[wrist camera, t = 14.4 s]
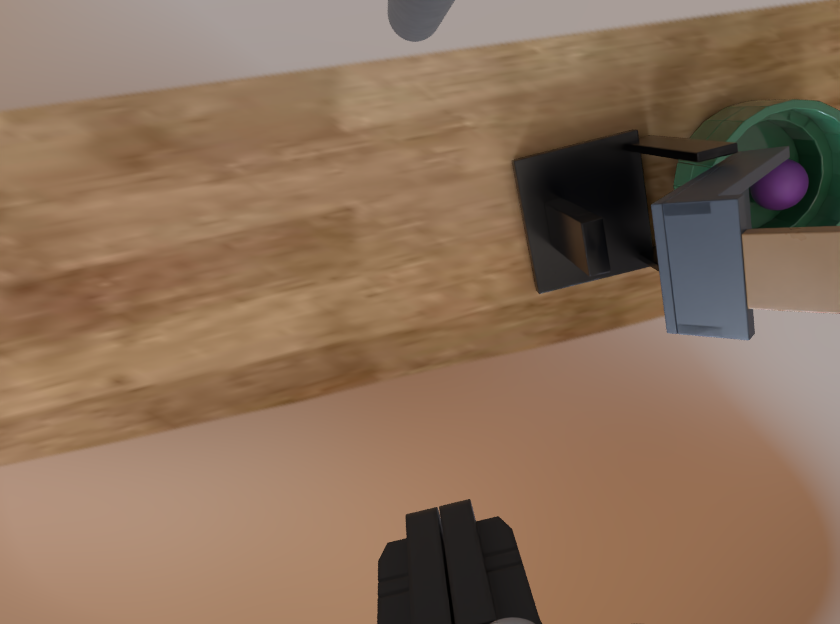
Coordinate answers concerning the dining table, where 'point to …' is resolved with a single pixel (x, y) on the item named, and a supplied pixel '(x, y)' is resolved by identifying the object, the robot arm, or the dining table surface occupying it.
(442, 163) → the dining table surface
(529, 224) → the stand
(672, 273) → the chute
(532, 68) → the dining table surface
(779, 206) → the ball
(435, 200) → the dining table surface
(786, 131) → the bowl
